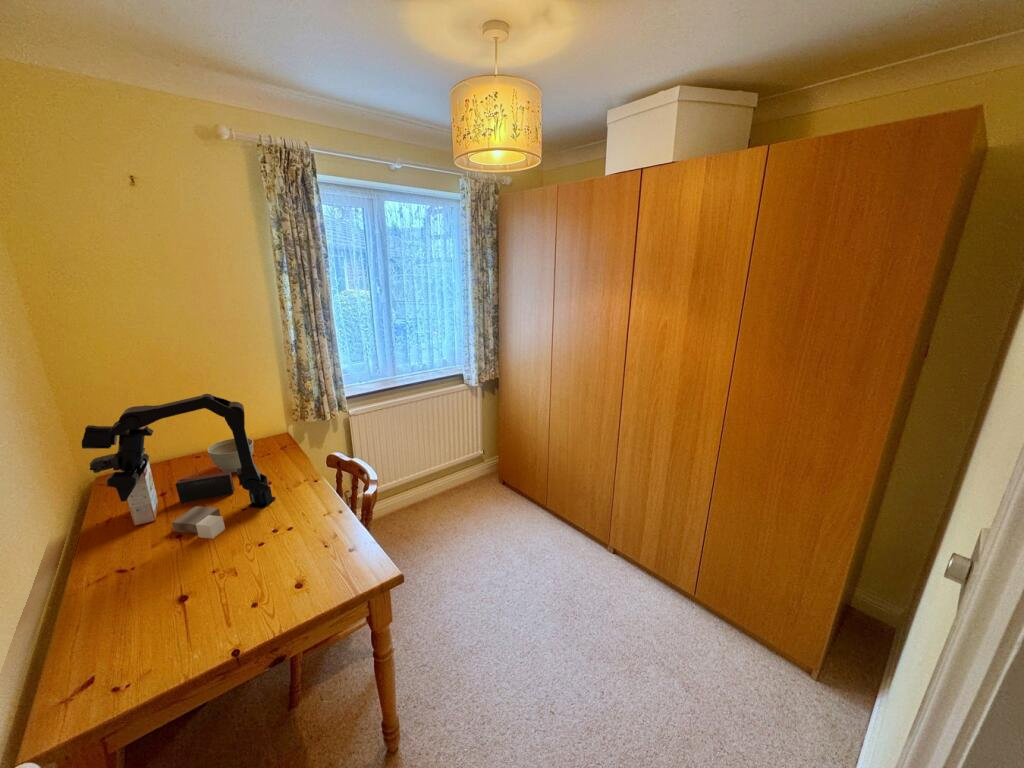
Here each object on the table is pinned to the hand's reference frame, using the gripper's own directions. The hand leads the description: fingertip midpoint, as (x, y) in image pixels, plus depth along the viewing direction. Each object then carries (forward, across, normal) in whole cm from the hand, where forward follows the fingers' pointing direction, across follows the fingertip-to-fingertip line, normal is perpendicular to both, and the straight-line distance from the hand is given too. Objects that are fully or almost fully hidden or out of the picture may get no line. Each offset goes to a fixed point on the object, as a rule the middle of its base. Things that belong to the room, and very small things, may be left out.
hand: (127, 494), depth 125 cm
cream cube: (+10, +10, +23) cm, 27 cm away
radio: (+11, -16, +21) cm, 29 cm away
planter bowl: (+9, -38, +28) cm, 48 cm away
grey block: (+12, +2, +19) cm, 22 cm away
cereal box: (+15, -14, +3) cm, 21 cm away
